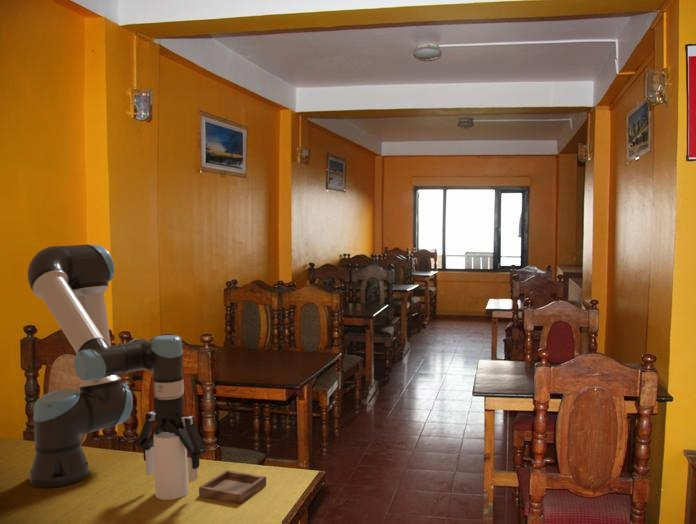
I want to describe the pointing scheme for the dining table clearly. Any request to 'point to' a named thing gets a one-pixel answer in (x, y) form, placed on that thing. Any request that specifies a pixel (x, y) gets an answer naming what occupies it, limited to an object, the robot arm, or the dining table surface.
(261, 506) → the dining table surface
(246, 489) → the square wooden tray
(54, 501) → the dining table surface
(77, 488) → the dining table surface
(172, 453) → the cup
